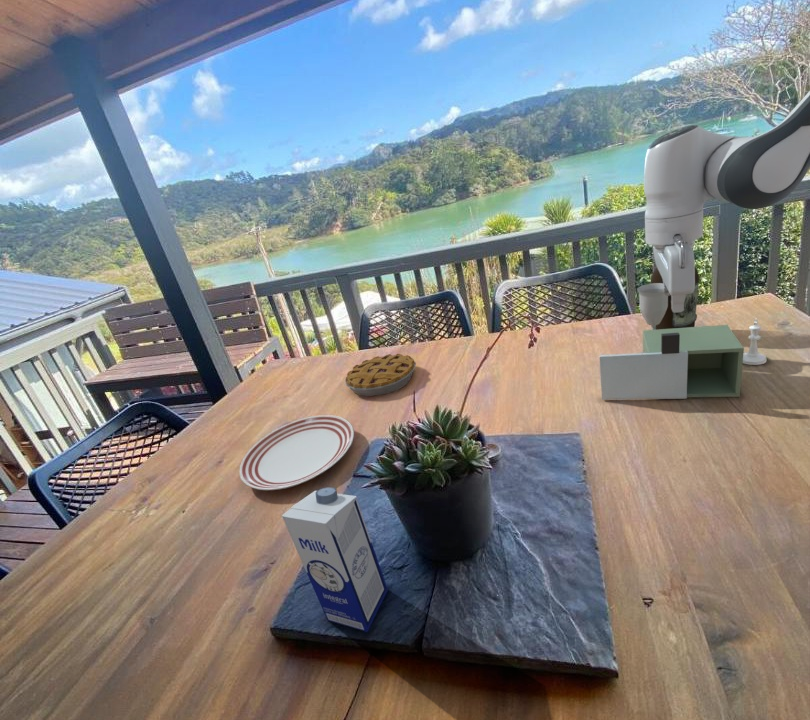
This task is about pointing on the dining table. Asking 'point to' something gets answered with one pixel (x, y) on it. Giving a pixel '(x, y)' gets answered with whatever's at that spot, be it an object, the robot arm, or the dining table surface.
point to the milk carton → (338, 556)
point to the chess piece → (754, 347)
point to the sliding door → (646, 373)
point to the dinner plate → (296, 452)
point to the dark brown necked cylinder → (679, 318)
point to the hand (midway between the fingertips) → (673, 302)
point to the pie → (380, 375)
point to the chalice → (652, 303)
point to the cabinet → (706, 358)
